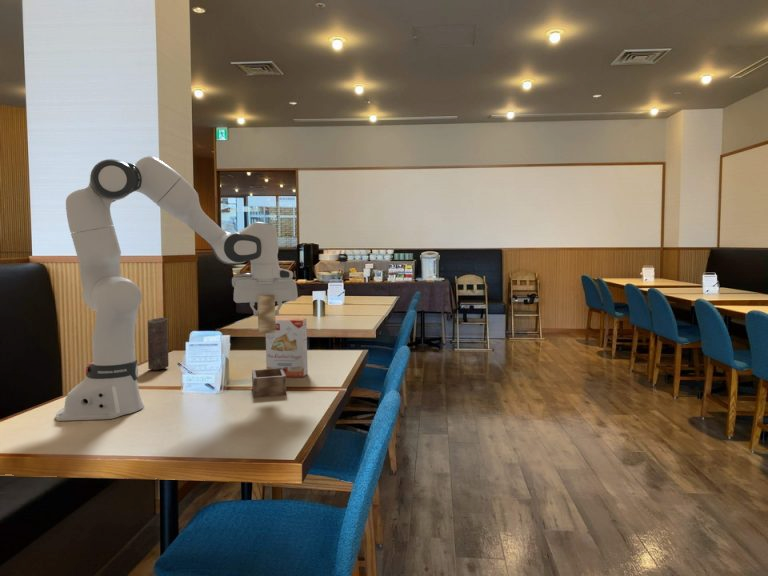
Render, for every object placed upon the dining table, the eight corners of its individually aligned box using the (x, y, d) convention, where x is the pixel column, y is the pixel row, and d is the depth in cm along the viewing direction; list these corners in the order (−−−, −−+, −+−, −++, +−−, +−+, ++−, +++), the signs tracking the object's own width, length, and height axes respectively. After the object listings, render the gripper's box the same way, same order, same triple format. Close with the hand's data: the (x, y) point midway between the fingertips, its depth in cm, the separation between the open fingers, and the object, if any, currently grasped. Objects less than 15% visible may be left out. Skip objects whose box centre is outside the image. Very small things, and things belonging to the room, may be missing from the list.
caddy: (254, 397, 175) (253, 378, 174) (252, 387, 187) (251, 369, 187) (286, 394, 177) (285, 376, 177) (282, 385, 190) (282, 367, 189)
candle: (173, 368, 219) (171, 318, 218) (156, 372, 213) (154, 320, 212) (160, 367, 223) (158, 317, 222) (144, 370, 217) (142, 319, 216)
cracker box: (266, 377, 202) (264, 319, 201) (271, 373, 208) (269, 317, 207) (304, 377, 201) (302, 319, 199) (308, 373, 207) (306, 317, 205)
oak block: (259, 333, 176) (258, 295, 176) (258, 330, 184) (257, 293, 183) (275, 332, 178) (274, 295, 177) (273, 329, 185) (272, 293, 185)
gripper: (231, 274, 174) (233, 318, 175) (297, 272, 179) (298, 315, 180) (231, 273, 180) (233, 316, 181) (295, 271, 185) (296, 313, 186)
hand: (266, 315), depth 181 cm, fingers closed on oak block, 5 cm apart
